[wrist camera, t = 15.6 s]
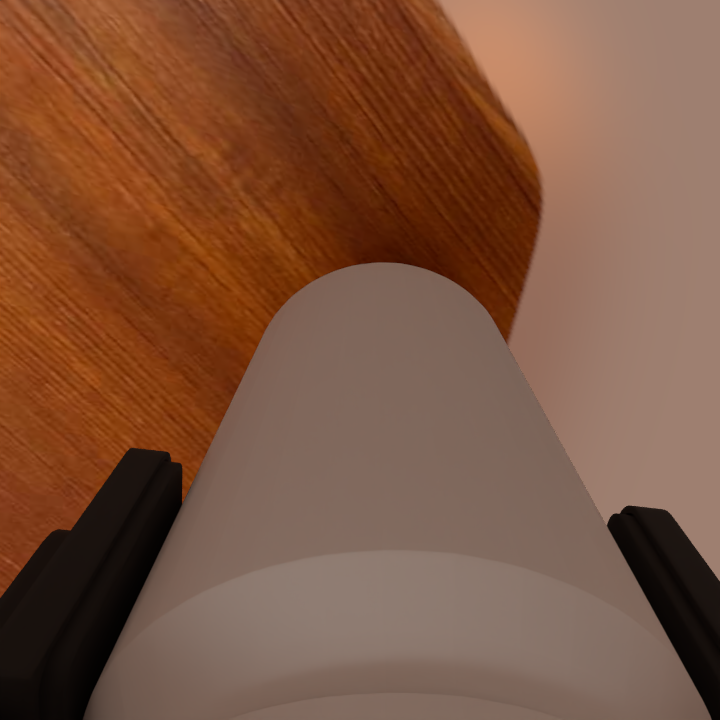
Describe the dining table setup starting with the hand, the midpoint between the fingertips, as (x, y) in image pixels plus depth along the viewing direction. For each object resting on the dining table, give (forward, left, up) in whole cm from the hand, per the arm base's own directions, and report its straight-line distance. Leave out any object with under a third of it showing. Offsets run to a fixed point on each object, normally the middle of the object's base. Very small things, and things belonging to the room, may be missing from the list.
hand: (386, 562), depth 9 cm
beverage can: (0, 0, -7) cm, 7 cm away
